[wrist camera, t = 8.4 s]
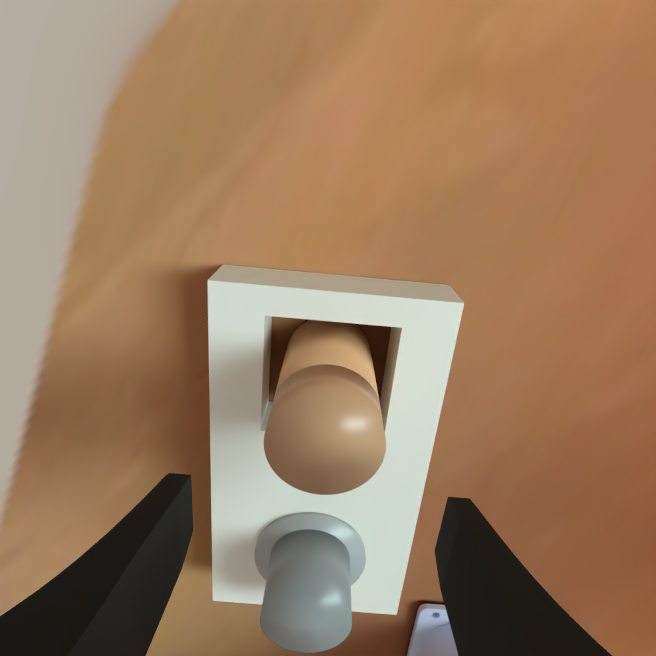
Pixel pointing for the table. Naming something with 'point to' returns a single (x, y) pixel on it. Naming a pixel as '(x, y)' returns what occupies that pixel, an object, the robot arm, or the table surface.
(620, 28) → the table surface
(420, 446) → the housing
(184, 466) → the table surface
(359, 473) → the tan round-topped peg
